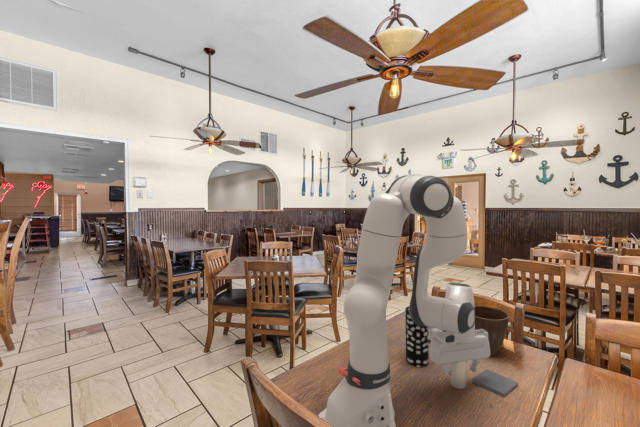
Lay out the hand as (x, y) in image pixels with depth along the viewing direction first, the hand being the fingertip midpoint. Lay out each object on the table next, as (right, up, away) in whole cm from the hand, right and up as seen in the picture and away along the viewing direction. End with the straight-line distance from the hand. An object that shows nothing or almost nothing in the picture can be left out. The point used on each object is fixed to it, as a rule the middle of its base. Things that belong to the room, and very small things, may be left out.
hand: (460, 372), depth 97 cm
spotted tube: (-9, -4, +15) cm, 18 cm away
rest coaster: (+12, -4, +1) cm, 12 cm away
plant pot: (+21, -4, +22) cm, 31 cm away
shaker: (-1, -4, +1) cm, 4 cm away
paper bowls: (+2, -3, +37) cm, 37 cm away
